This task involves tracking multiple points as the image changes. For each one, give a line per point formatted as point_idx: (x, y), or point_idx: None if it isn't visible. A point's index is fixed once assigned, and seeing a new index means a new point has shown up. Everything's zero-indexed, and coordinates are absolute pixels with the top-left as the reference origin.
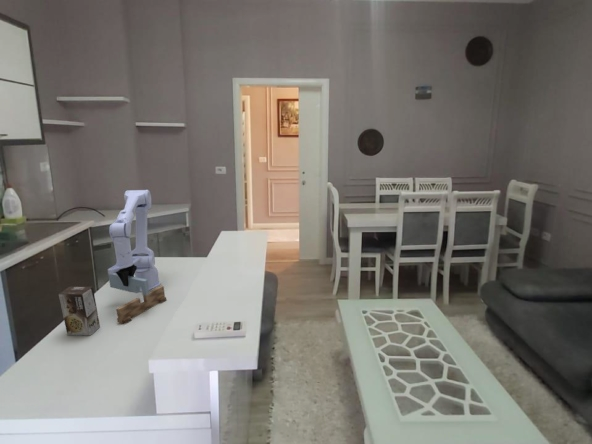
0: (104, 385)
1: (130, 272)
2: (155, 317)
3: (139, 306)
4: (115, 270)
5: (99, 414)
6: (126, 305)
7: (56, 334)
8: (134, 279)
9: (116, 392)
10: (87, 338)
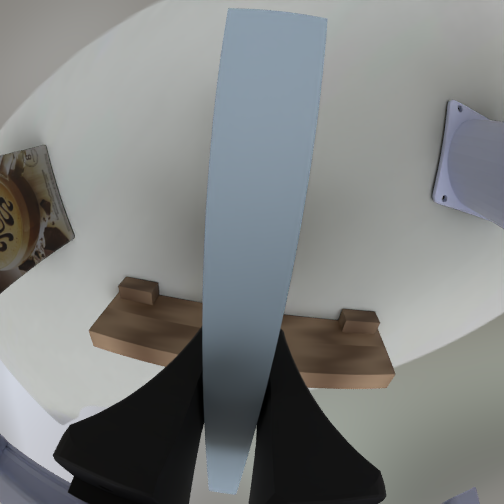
0: (31, 375)
1: (253, 476)
2: None
3: None
4: (40, 486)
5: (23, 387)
6: (131, 355)
7: (6, 135)
8: (207, 463)
9: (41, 392)
10: None
